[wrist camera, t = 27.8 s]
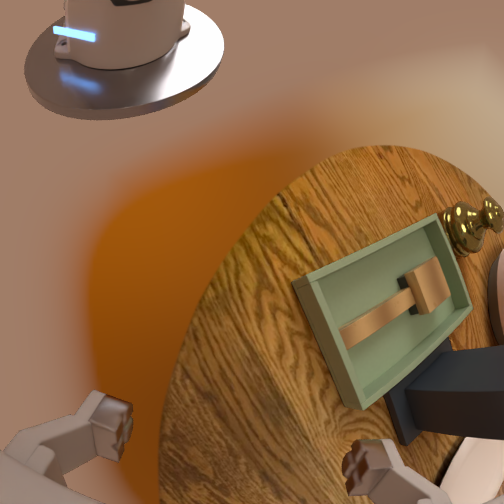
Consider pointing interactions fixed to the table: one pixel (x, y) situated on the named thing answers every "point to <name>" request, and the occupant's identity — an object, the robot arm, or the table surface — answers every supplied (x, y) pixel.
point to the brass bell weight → (470, 225)
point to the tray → (372, 293)
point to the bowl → (497, 297)
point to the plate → (475, 471)
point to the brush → (401, 301)
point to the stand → (451, 395)
